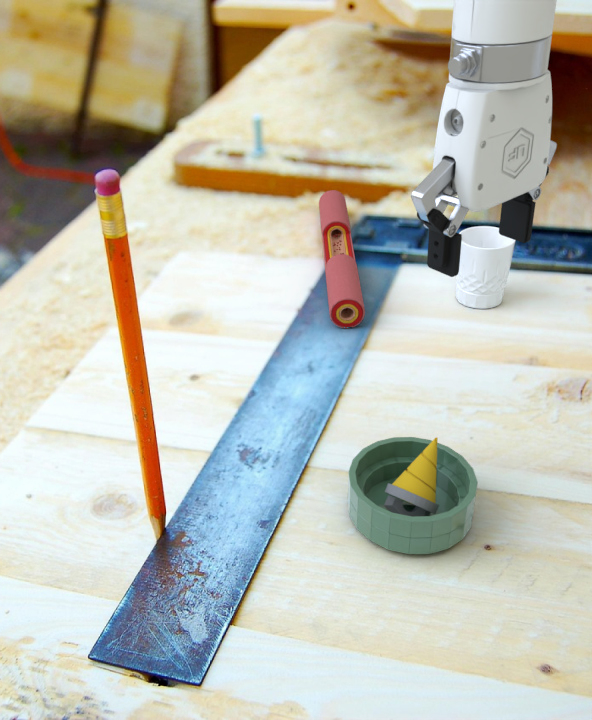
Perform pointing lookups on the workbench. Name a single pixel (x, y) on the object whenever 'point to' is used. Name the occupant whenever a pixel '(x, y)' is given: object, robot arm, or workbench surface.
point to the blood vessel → (340, 262)
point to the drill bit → (416, 485)
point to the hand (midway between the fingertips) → (479, 254)
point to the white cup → (483, 267)
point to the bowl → (400, 530)
